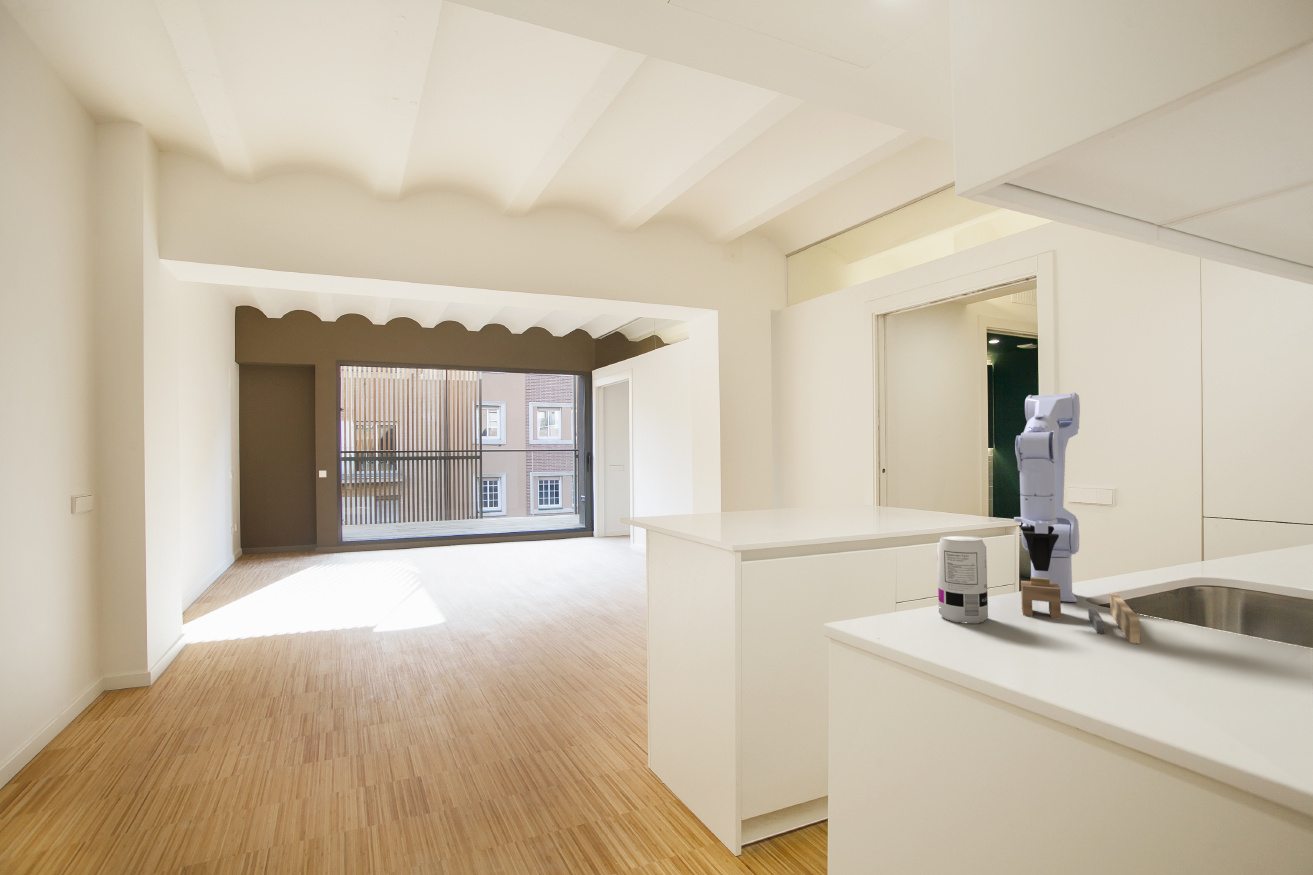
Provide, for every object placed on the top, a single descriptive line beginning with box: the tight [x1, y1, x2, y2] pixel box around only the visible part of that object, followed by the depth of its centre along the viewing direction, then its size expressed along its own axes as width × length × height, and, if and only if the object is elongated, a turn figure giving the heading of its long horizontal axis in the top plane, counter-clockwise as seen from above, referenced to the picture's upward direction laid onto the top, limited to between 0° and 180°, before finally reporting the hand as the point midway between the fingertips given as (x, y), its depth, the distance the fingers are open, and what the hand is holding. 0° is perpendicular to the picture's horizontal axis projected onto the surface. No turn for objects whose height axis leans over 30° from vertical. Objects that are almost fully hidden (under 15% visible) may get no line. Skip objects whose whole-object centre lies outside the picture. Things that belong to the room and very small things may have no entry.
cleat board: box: [1087, 592, 1141, 645], centre depth 110 cm, size 18×5×4 cm, turn 152°
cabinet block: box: [1020, 576, 1062, 620], centre depth 119 cm, size 5×6×7 cm
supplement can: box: [936, 534, 989, 624], centre depth 117 cm, size 8×8×15 cm
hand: (1039, 566), depth 119 cm, fingers open, 7 cm apart
